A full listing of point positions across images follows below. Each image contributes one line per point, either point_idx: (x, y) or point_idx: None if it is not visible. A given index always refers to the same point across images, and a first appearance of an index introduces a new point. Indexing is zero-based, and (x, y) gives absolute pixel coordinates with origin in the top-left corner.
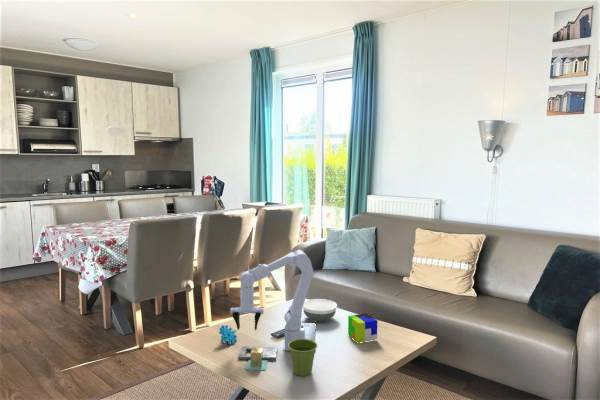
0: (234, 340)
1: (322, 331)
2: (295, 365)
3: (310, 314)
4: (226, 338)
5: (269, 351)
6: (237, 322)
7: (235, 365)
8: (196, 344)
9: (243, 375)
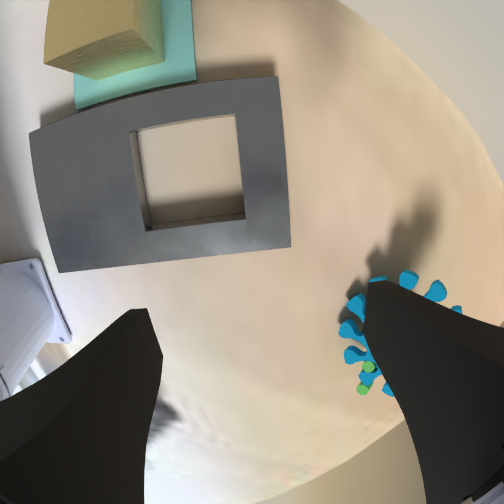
0: (352, 323)
1: None
2: None
3: None
4: None
5: (76, 200)
6: (449, 324)
7: (270, 14)
8: (494, 257)
9: None
